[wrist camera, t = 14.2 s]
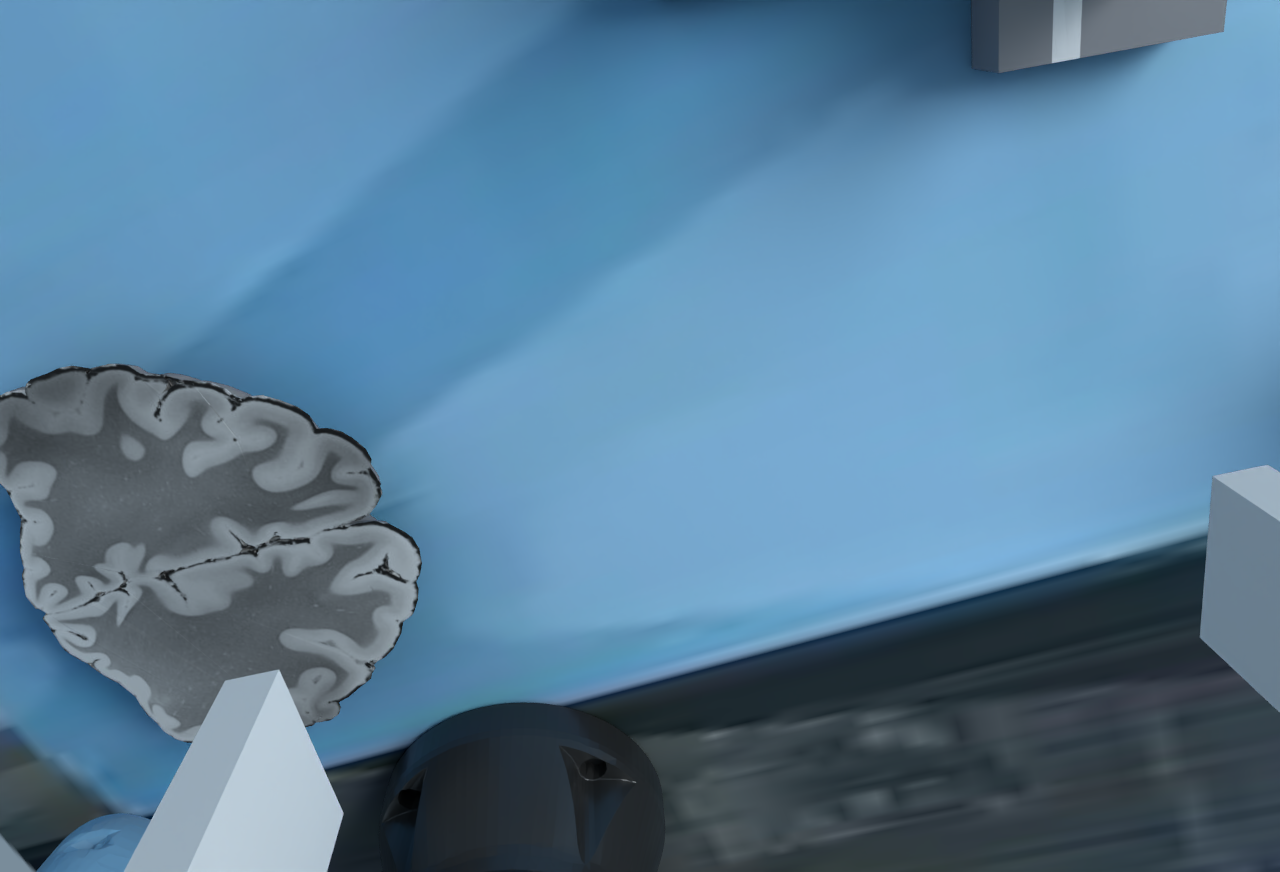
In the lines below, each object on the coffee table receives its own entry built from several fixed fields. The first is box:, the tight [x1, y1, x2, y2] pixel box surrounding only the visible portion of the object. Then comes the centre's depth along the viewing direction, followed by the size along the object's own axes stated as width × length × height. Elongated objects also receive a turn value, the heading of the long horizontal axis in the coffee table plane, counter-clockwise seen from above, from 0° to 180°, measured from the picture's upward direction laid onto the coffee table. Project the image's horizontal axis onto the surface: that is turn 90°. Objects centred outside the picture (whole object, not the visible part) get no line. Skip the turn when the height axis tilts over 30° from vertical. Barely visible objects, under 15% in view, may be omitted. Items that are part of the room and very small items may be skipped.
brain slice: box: [0, 364, 422, 743], centre depth 40 cm, size 20×17×3 cm
